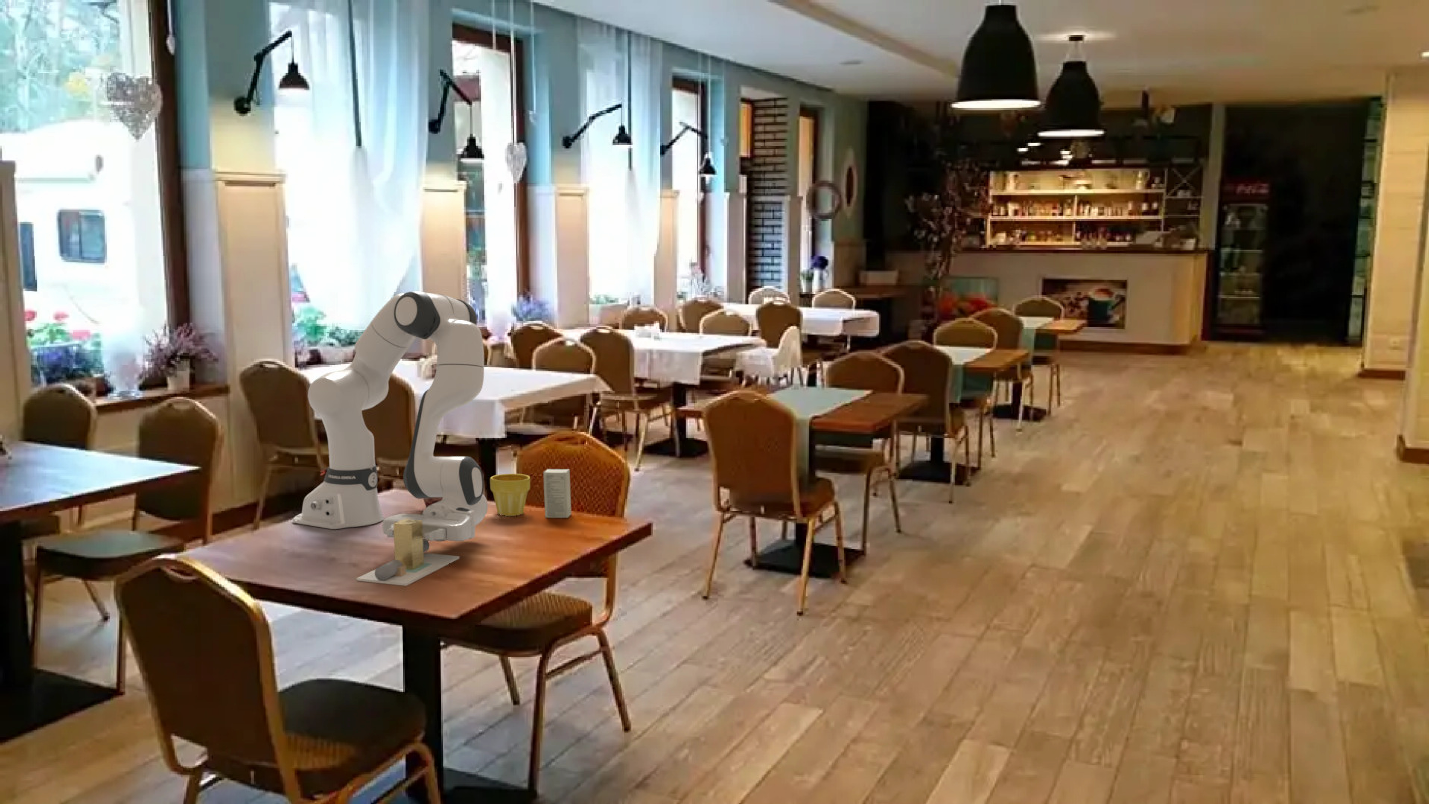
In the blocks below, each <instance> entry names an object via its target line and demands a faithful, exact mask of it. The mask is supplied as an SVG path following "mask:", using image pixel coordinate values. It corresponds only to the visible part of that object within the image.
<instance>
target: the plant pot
mask: <svg viewBox="0 0 1429 804" xmlns="http://www.w3.org/2000/svg"><path fill="white" fill-rule="evenodd" d="M489 485H490V486H489V487H490V491H491V492H492V493H493V499H494V503H495V507H496V513H497V515H499V514H501V515H500V516H502V515H505V516H504V517H517V516H521V515H523V514H524V511H525V506H526V501H527V497H528V492H529V490H530V489H531V477H530V475H527V474H522V473H501V474H495V475H493V476H491V477H490V478H489ZM520 514H521V515H520ZM516 515H517V516H516Z"/></svg>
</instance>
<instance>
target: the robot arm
mask: <svg viewBox="0 0 1429 804" xmlns="http://www.w3.org/2000/svg"><path fill="white" fill-rule="evenodd" d="M477 317H478V316H477V313H476V311H475V309H474V308H473V306H472V305H470V304H469V303H468V302H466V301H464V300H462V299H457V298H453V297H451V296H448V295H445V294H440V293H432V292H431V293H429V292H424V291H422V290H421V291H420V290H413V291H408V292H401V293H398V294H395V295H394V296H393V297H392V298H391V299H390V300H388V301H387V302H386V303H385V304H384V306H382V308H380V309H379V311H378V312H377V314H376V315H374V317H373V318H372V320H371V321H370V322H369V324H368V326H367V327H366V328H365V330H364V331H363V332H362V334H361V335H360V337H359V338H358V340H357V341H356V342H355V345H354V352H355V355H354V358H353V359H352V361H351V364H350V365H349V366H347V367H346V368H344V369H341V370H337V371H331V372H327V373H325V374H322V375H321V376H319V377H318V378H317V379H315V380H313V382H312V383H310V386H309V388H308V391H307V399H308V403H309V405H310V407H311V408H312V410H313V411H315V412H316V413H317V414H318V415H319V417H320V418H321V419H320V420H322V424H323V425H324V428H325V429H324V430H325V433H326V437H327V444H328V445H327V446H328V458H329V460H328V461H329V466H328V467H327V468H325V469H323V470H320V471H319V472H320V476H323V475H324V479H323V482H321V483H320V484H319V485H318V486H317V487H316V488H314V489H313V490H312V491H311V492H309V493H308V494H307V495H306V496H305V497H304V498H303V502H302V508H301V509H302V510H301V513H299V514H297V515H295V516H293V519H292V520H293V521H292V522H293V523H294V524H299V525H305V526H311V527H319V528H323V529H331V530H338V529H345V528H355V527H363V526H364V527H365V526H369V525H373V524H376V523H377V524H378V523H379V522H382V531H383V534H384V535H385V536H386V537H387V538H392V539H394V523H396V522H398V521H401V520H403V519H412V520H422V529H423V539H425V540H426V541H428V542H434V541H435V542H445V541H452V542H465V541H467V540H471V539H473V538H475V536H476V526H477V525H479V524H480V523H482V521H483V519H484V518H485V516H486V515H487V514H488V509H489V506H488V500H487V498H486V496H485V494H484V487H485V486H484V485H485V484H484V482H485V481H484V474H483V470H482V469H481V467H480V465H479V464H478V463H477V461H476V460H475V459H474V458H472V457H471V456H459V455H458V456H457V455H456V456H453V455H451V456H434V450H435V445H436V440H437V434H438V430H439V425H440V422H441V420H442V419H443V418H444V417H445V416H446V415H447V414H449V413H450V412H451V411H453V410H456V409H458V408H460V407H464V406H465V405H467V404H468V403H471V402H473V400H474V399H476V398H477V396H479V394H480V393H481V391H482V390H483V389H482V388H483V386H484V378H485V353H484V351H485V350H484V343H483V342H484V341H483V335H482V331H481V329H480V327H479V326H478V325H477V324H478V318H477ZM416 338H419V339H421V340H431V341H433V343H434V344H435V346H436V351H437V353H436V354H437V355H436V356H437V357H436V369H435V370H436V371H435V375H434V378H433V381H432V383H431V385H430V387H429V388H428V389H426V390H425V391H424V393H423V394H422V397H421V400H420V403H419V407H418V412H417V417H416V421H415V424H414V425H415V427H414V429H413V436H412V442H411V447H410V452H409V456H408V458H407V461H406V465H405V467H404V470H403V475H402V477H403V479H402V480H403V485H404V487H405V488H406V490H407V491H408V493H409V494H411V496H412V497H413V498H415V499H418V500H419V499H420V500H422V499H423V498H433V497H443V499H442V500H441V501H439V502H437V503H434V504H432V505H430V506H428V507H427V508H426V507H425V509H424V510H423V512H422V513H421V514H418V513H408V512H407V513H406V512H405V513H398V514H394V515H391V516H387V517H385V518H384V516H383V512H382V509H381V505H380V500H379V495H378V494H379V493H378V488H377V487H378V467H377V465H376V459H375V457H376V455H375V437H374V434H373V433H372V431H370V430H369V429H368V427H367V425H366V423H365V420H364V417H363V411H366V410H368V409H372V408H374V407H375V406H376V405H379V404H380V403H381V402H382V401H384V400H385V399H386V397H387V395H388V392H389V389H390V388H389V387H390V386H389V381H390V378H391V376H392V374H393V371H394V369H395V368H396V366H397V365H398V364H399V362H400V361H401V359H402V358H403V356H404V355H405V354H406V353H407V352H408V349H409V348H411V346H412V344H413V343H414V342H415V340H416ZM295 520H297V521H295Z"/></svg>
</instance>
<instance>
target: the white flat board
mask: <svg viewBox="0 0 1429 804" xmlns="http://www.w3.org/2000/svg"><path fill="white" fill-rule="evenodd" d="M429 542H430V541H426V540H425V538H423V560H424V565H422V566H420V567H418V568H416V569H414V570H407V569H406V566H403V565H402V563H401V562H400V561H399V560H395V559H393V560H391V561H389V562H386V563H384V564H382V565H379V566H378V567H376V569H373V570H371V571H369V572H367V573H365V574H363V575H361V576H359V577H357V578H356V581H358V582H365V583H366V582H367V583H378V584H385V585H386V584H387V585H394V586H409V585H411V584H413V583H414V582H417V581H419V580H420V579H422V578H424V577H426V576H429V575H430V574H433V572H436V571H438V570H440V569H442V568H444V567H445V566H448V565H450V564H452V563H453V562H455V561H457V560H459V559H460V556H459V555H449V554H440V553H428V552H427V551H428V550H429V549H430V543H429ZM425 552H426V553H425ZM449 563H450V564H449Z"/></svg>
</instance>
